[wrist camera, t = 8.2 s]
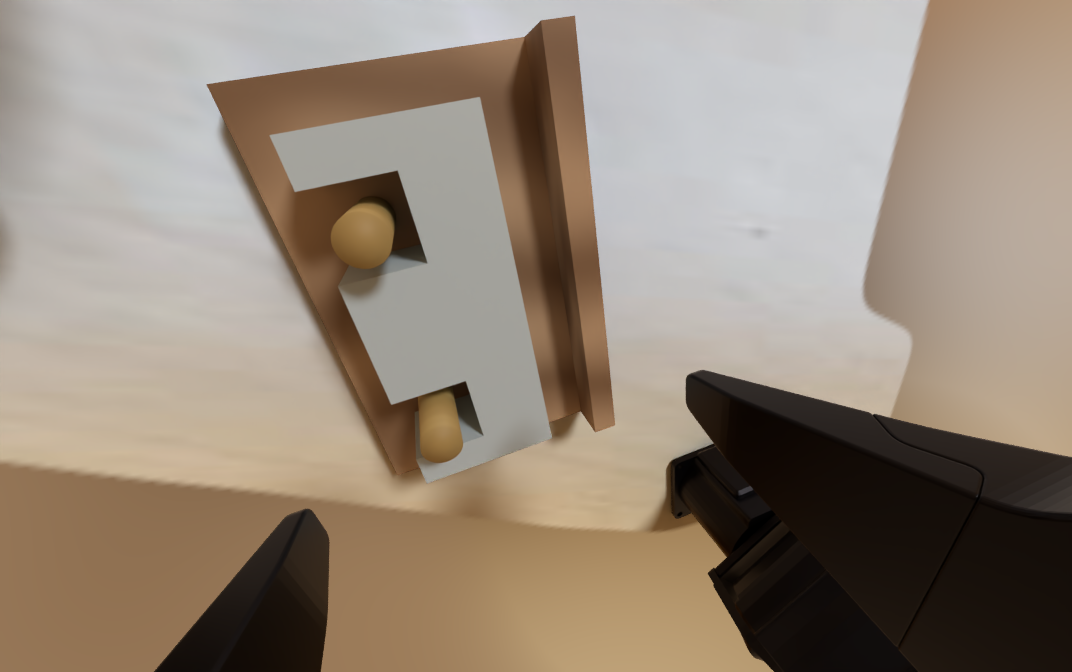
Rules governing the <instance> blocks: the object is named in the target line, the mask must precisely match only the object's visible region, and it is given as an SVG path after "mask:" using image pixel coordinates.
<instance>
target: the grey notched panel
mask: <svg viewBox="0 0 1072 672" xmlns="http://www.w3.org/2000/svg"><path fill="white" fill-rule="evenodd" d="M269 136H270V138H271V140H272V142H273V144H274V147H275V149H276V151H277V153H278V155H279V158H280V160H281V162H282V164H283V166H284V169H285V171H286V173H287V175H288V178H289V180H290V182H291V184H292V186H293V189H294V191H295V192H298V191H302V190H307V189H312V188H317V187H321V186H326V185H331V184H336V183H340V182H345V181H350V180H355V179H359V178H364V177H369V176H374V175H379V174H383V173H388V172H393V171H398V173H399V176H400V179H401V182H402V185H403V188H404V191H405V195H406V198H407V201H408V204H409V207H410V210H411V213H412V216H413V219H414V222H415V225H416V229H417V232H418V235H419V238H420V241H421V244H419V245H415V246H411V247H407V248H403V249H399V250H395V251H391V253H390V255H389V257H388V258H387V259H386V261H385V262H384V263H382V264H381V265H379V266H377V267H374V268H370V269H360V268H355V267H352V266H350V265H349V266H348V268H347V270H346V272H345V274H344V276H343V278H342V280H341V282H340V284H339V285H338V288H339V290H340V292H341V295H342V297H343V299H344V301H345V304H346V306H347V308H348V310H349V312H350V315H351V317H352V319H353V321H354V323H355V326H356V328H357V330H358V332H359V334H360V337H361V339H362V341H363V343H364V346H365V348H366V350H367V352H368V354H369V357H370V359H371V361H372V363H373V365H374V368H375V370H376V372H377V374H378V376H379V379H380V381H381V383H382V385H383V387H384V390H385V392H386V394H387V396H388V399H389V401H390V403H391V405H392V404H396V403H399V402H402V401H405V400H408V399H411V398H414V397H418V396H421V395H424V394H427V393H430V392H433V391H436V390H439V389H443V388H446V387H449V386H452V385H455V384H458V383H461V382H464V381H466V383H467V386H468V389H469V392H470V394H469V395H466V396H463V397H460V398H457V399H455V403H456V408H457V413H458V418H459V424H460V429H461V434H462V439H463V448H462V450H461V452H460V453H459V455H458V456H457V457H455V458H454V459H452V460H450V461H448V462H444V463H434V462H430V461H428V460H426V459H425V458H424V457H423V456H422V454H421V450H420V430H419V411H417V412H415V439H416V460H417V463H418V465H419V467H420V469H421V471H422V474H423V476H424V478H425V480H426V483H430V482H433V481H435V480H438V479H441V478H444V477H447V476H449V475H452V474H455V473H458V472H460V471H463V470H466V469H469V468H471V467H474V466H477V465H480V464H482V463H485V462H488V461H491V460H493V459H496V458H499V457H502V456H504V455H507V454H510V453H513V452H515V451H518V450H521V449H524V448H527V447H529V446H532V445H535V444H538V443H540V442H543V441H546V440H549V439H551V438H552V435H551V430H550V426H549V421H548V416H547V412H546V407H545V402H544V397H543V393H542V388H541V383H540V378H539V374H538V369H537V364H536V360H535V355H534V350H533V345H532V341H531V336H530V331H529V327H528V322H527V317H526V312H525V308H524V303H523V298H522V293H521V289H520V284H519V279H518V275H517V270H516V265H515V260H514V256H513V251H512V246H511V241H510V237H509V232H508V227H507V223H506V218H505V213H504V208H503V204H502V199H501V194H500V190H499V185H498V180H497V175H496V171H495V166H494V161H493V156H492V152H491V147H490V142H489V138H488V133H487V128H486V123H485V119H484V114H483V109H482V104H481V100H480V97H477V98H471V99H466V100H460V101H455V102H449V103H444V104H438V105H433V106H427V107H422V108H416V109H411V110H405V111H400V112H394V113H389V114H383V115H378V116H372V117H367V118H361V119H356V120H350V121H345V122H339V123H334V124H328V125H323V126H317V127H312V128H306V129H301V130H296V131H290V132H285V133H279V134H274V135H269Z"/></svg>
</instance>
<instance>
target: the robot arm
mask: <svg viewBox="0 0 1072 672" xmlns="http://www.w3.org/2000/svg"><path fill="white" fill-rule="evenodd" d="M686 404H687V407H688V409H689V410H690V412H691V413H692V415H693V416H694V417H695V419H696V420H697V421H698V423H699V424H700V425H701V427H702V428H703V429H704V431H705V432H706V433H707V435H708V436H709V437H710V439H711V440H712V442H713V443H714V445H711V446H708V447H706V448H703V449H701V450H698V451H696V452H693V453H691V454H688V455H686V456H683V457H681V458H678V459H676V460H674V461H673V463H672V465H671V483H672V514H673V516H674V517H675V518H677V519H678V518H681V517H683V516H686V515H688V514H690V513H692V514H693V515H694V517H695V518H696V519H697V520H698V522H699V523H700V524H701V525H702V527H703V528H704V529H705V530H706V532H707V533H708V534H709V536H710V537H711V538H712V539H713V540H714V542H715V543H716V544H717V546H718V547H719V548H720V549H721V550H722V552H723V553H724V554H725V556H726V557H727V558H726V559H725V560H724V561H723V562H722V563H720V564H719V565H718V566H717V567H716V568H713V569H712V570H711V571H709V572H708V575H709V576H710V578H711V580H712V582H713V583H714V588H715V590H716V591H717V593H718V595H719V596H720V598H721V600H722V602H723V603H724V605H725V607H726V609H727V610H728V612H729V614H730V615H731V617H732V619H733V620H734V622H735V624H736V626H737V627H738V629H739V631H740V632H741V635H742V637H743V639H744V642H745V644H746V646H747V648H748V650H749V652H750V653H751V654H752V656H753V657H755V658H756V659H759V660H762V661H764V662H765V663H766V664H767V665H768V666H769V667H770V668H771V669H772V670H773V671H774V672H1072V457H1068V456H1062V455H1057V454H1053V453H1048V452H1043V451H1038V450H1034V449H1029V448H1024V447H1019V446H1014V445H1009V444H1004V443H999V442H995V441H990V440H985V439H980V438H975V437H971V436H966V435H962V434H957V433H952V432H947V431H943V430H938V429H933V428H929V427H925V426H921V425H917V424H913V423H909V422H904V421H901V420H897V419H893V418H889V417H885V416H881V415H877V414H873V415H872V414H871V413H869V412H865V411H861V410H858V409H854V408H850V407H846V406H842V405H838V404H834V403H830V402H826V401H823V400H819V399H815V398H811V397H807V396H803V395H799V394H795V393H791V392H787V391H784V390H780V389H776V388H772V387H768V386H764V385H760V384H756V383H752V382H749V381H745V380H741V379H737V378H733V377H729V376H725V375H721V374H717V373H713V372H710V371H706V370H699V371H697V372H694V373H691V374H689V375H688V376H687V378H686ZM328 579H329V537H328V534H327V532H326V530H325V529H324V527H323V526H322V524H321V523H320V521H319V520H318V518H317V517H316V515H315V514H314V513H313V512H312V510H310V509H303V510H300V511H298V512H295V513H292V514H290V515H287V516H286V517H285V518H284V519H283V520H282V521H281V523H280V524H279V525H278V526H277V527H276V528H275V530H274V531H273V532H272V533H271V534H270V536H269V537H268V538H267V539H266V540H265V541H264V543H263V544H262V545H261V546H260V547H259V549H258V550H257V551H256V552H255V553H254V554H253V556H252V557H251V558H250V559H249V560H248V561H247V563H246V564H245V565H244V566H243V567H242V569H241V570H240V571H239V572H238V573H237V574H236V576H235V577H234V578H233V579H232V580H231V582H230V583H229V584H228V585H227V586H226V588H225V589H224V590H223V591H222V592H221V593H220V595H219V596H218V597H217V598H216V599H215V601H214V602H213V603H212V604H211V605H210V606H209V608H208V609H207V610H206V611H205V612H204V613H203V615H202V616H201V617H200V618H199V619H198V621H197V622H196V623H195V624H194V625H193V626H192V628H191V629H190V630H189V631H188V632H187V633H186V635H185V636H184V637H183V638H182V639H181V640H180V642H179V643H178V644H177V645H176V646H175V648H174V649H173V650H172V651H171V652H170V653H169V655H168V656H167V657H166V658H165V659H164V661H163V662H162V663H161V664H160V665H159V666H158V668H157V669H156V670H155V671H154V672H321V665H322V657H323V650H324V642H325V634H326V626H327V613H328Z"/></svg>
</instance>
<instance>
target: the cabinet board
mask: <svg viewBox="0 0 1072 672" xmlns="http://www.w3.org/2000/svg"><path fill="white" fill-rule="evenodd" d="M207 86H208V88H209V90H210V92H211V94H212V97H213V99H214V101H215V103H216V105H217V107H218V109H219V111H220V113H221V115H222V117H223V119H224V121H225V123H226V125H227V127H228V129H229V131H230V133H231V135H232V137H233V140H234V142H235V144H236V146H237V148H238V150H239V152H240V154H241V156H242V158H243V160H244V162H245V164H246V166H247V168H248V170H249V172H250V174H251V176H252V178H253V180H254V183H255V185H256V187H257V189H258V191H259V193H260V195H261V197H262V199H263V201H264V203H265V205H266V207H267V209H268V211H269V213H270V215H271V217H272V219H273V221H274V223H275V226H276V228H277V230H278V232H279V234H280V236H281V238H282V240H283V242H284V244H285V246H286V248H287V250H288V252H289V254H290V256H291V258H292V260H293V262H294V264H295V266H296V269H297V271H298V273H299V275H300V277H301V279H302V281H303V283H304V285H305V287H306V289H307V291H308V293H309V295H310V297H311V299H312V301H313V303H314V305H315V307H316V309H317V312H318V314H319V316H320V318H321V320H322V322H323V324H324V326H325V328H326V330H327V332H328V334H329V336H330V338H331V340H332V342H333V344H334V346H335V348H336V350H337V352H338V355H339V357H340V359H341V361H342V363H343V365H344V367H345V369H346V371H347V373H348V375H349V377H350V379H351V381H352V383H353V385H354V387H355V389H356V391H357V393H358V395H359V398H360V400H361V402H362V404H363V406H364V408H365V410H366V412H367V414H368V416H369V418H370V420H371V422H372V424H373V426H374V428H375V430H376V432H377V434H378V436H379V438H380V441H381V443H382V445H383V447H384V449H385V451H386V453H387V455H388V457H389V459H390V461H391V463H392V465H393V467H394V469H395V471H396V473H397V475H400V474H402V473H405V472H408V471H411V470H414V469H417V468H420V467H419V465H418V463H417V460H416V439H415V412H417V411H419V430H420V450H421V454H422V456H423V457H424V458H425V459H426V460H428V461H430V462H434V463H444V462H448V461H450V460H452V459H454V458H455V457H457V456H458V455H459V453H460V452H461V450H462V448H463V439H462V434H461V429H460V424H459V418H458V413H457V408H456V403H455V399H457V398H460V397H463V396H466V395H469V394H470V392H469V389H468V386H467V383H466V381H464V382H461V383H458V384H455V385H452V386H449V387H446V388H443V389H439V390H436V391H433V392H430V393H427V394H424V395H421V396H418V397H414V398H411V399H408V400H405V401H402V402H399V403H396V404H392V405H391V403H390V401H389V399H388V396H387V394H386V392H385V390H384V387H383V385H382V383H381V381H380V379H379V376H378V374H377V372H376V370H375V368H374V365H373V363H372V361H371V359H370V357H369V354H368V352H367V350H366V348H365V346H364V343H363V341H362V339H361V337H360V334H359V332H358V330H357V328H356V326H355V323H354V321H353V319H352V317H351V315H350V312H349V310H348V308H347V306H346V304H345V301H344V299H343V297H342V295H341V292H340V290H339V288H338V285H339V284H340V282H341V280H342V278H343V276H344V274H345V272H346V270H347V268H348V266H349V265H350V266H352V267H355V268H360V269H370V268H374V267H377V266H379V265H381V264H382V263H384V262H385V261H386V259H387V258H388V257H389V255H390V253H391V251H395V250H399V249H403V248H407V247H411V246H415V245H419V244H421V241H420V238H419V235H418V232H417V229H416V225H415V222H414V219H413V216H412V213H411V210H410V207H409V204H408V201H407V198H406V195H405V191H404V188H403V185H402V182H401V179H400V176H399V173H398V171H393V172H388V173H383V174H379V175H374V176H369V177H364V178H359V179H355V180H350V181H345V182H340V183H336V184H331V185H326V186H321V187H317V188H312V189H307V190H302V191H298V192H295V191H294V189H293V186H292V184H291V182H290V180H289V178H288V175H287V173H286V171H285V169H284V166H283V164H282V162H281V160H280V158H279V155H278V153H277V151H276V149H275V147H274V144H273V142H272V140H271V138H270V136H269V135H274V134H279V133H285V132H290V131H296V130H301V129H306V128H312V127H317V126H323V125H328V124H334V123H339V122H345V121H350V120H356V119H361V118H367V117H372V116H378V115H383V114H389V113H394V112H400V111H405V110H411V109H416V108H422V107H427V106H433V105H438V104H444V103H449V102H455V101H460V100H466V99H471V98H477V97H480V100H481V104H482V109H483V114H484V119H485V123H486V128H487V133H488V138H489V142H490V147H491V152H492V156H493V161H494V166H495V171H496V175H497V180H498V185H499V190H500V194H501V199H502V204H503V208H504V213H505V218H506V223H507V227H508V232H509V237H510V241H511V246H512V251H513V256H514V260H515V265H516V270H517V275H518V279H519V284H520V289H521V293H522V298H523V303H524V308H525V312H526V317H527V322H528V327H529V331H530V336H531V341H532V345H533V350H534V355H535V360H536V364H537V369H538V374H539V378H540V383H541V388H542V393H543V397H544V402H545V407H546V412H547V416H548V421H549V422H551V421H554V420H557V419H560V418H563V417H566V416H569V415H572V414H574V413H577V412H580V411H581V412H582V414H583V415H584V416H585V418H586V419H587V421H588V422H589V424H590V425H591V427H592V428H593V430H594V431H595V432H598V431H600V430H603V429H606V428H609V427H611V426H614V425H615V419H614V409H613V399H612V389H611V379H610V369H609V358H608V348H607V338H606V328H605V318H604V308H603V298H602V287H601V277H600V267H599V257H598V247H597V237H596V226H595V216H594V206H593V196H592V186H591V176H590V166H589V155H588V145H587V135H586V125H585V115H584V105H583V95H582V84H581V74H580V64H579V54H578V44H577V34H576V23H575V16H570V17H563V18H556V19H549V20H542V21H540V22H539V23H538V24H537V25H536V26H535V27H534V28H533V29H532V30H531V31H530V32H529V33H528V34H527V35H526V36H525V37H522V38H515V39H508V40H501V41H495V42H488V43H481V44H475V45H468V46H461V47H454V48H448V49H441V50H434V51H428V52H421V53H414V54H407V55H401V56H394V57H387V58H381V59H374V60H367V61H360V62H354V63H347V64H340V65H334V66H327V67H320V68H313V69H307V70H300V71H293V72H287V73H280V74H273V75H266V76H260V77H253V78H246V79H240V80H233V81H226V82H219V83H213V84H207Z"/></svg>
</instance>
